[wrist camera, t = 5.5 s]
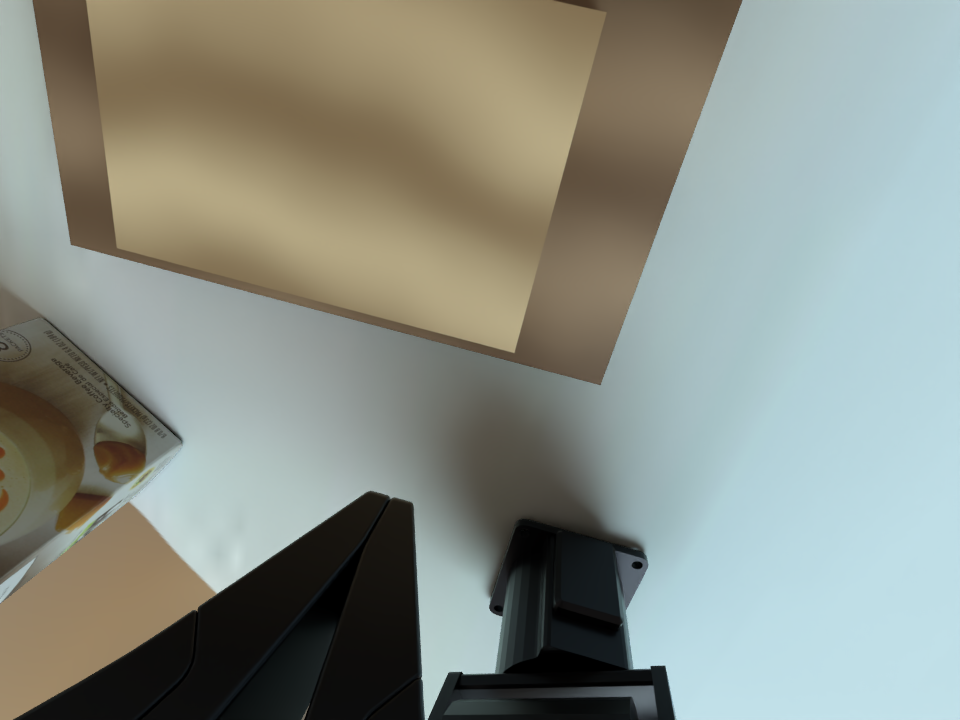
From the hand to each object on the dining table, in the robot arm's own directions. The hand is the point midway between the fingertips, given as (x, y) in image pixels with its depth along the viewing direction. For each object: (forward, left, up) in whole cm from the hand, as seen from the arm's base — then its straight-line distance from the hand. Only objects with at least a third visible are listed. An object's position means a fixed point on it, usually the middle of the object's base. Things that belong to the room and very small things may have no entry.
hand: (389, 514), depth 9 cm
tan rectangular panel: (+5, +6, -10) cm, 13 cm away
